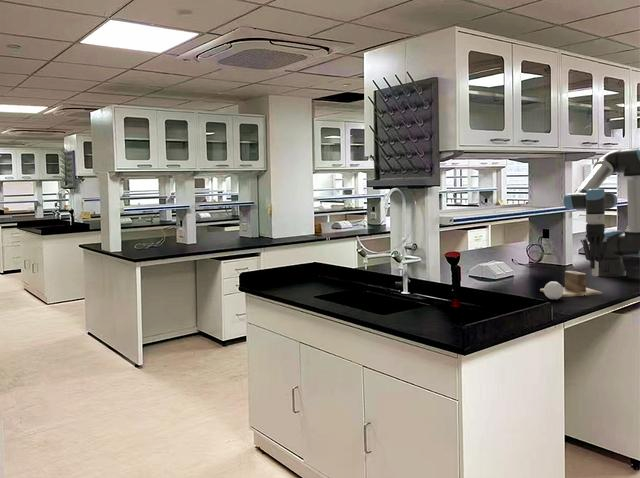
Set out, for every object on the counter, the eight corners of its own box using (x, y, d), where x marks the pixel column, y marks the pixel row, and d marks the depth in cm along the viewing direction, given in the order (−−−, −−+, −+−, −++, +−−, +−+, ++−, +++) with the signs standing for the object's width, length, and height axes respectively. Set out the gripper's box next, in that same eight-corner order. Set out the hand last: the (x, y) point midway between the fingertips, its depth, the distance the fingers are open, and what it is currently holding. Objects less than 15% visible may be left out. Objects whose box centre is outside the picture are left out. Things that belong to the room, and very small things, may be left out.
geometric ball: (549, 305, 241) (537, 291, 242) (555, 296, 247) (544, 282, 247) (563, 299, 236) (551, 284, 236) (570, 289, 241) (557, 275, 241)
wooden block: (573, 287, 260) (573, 270, 259) (585, 291, 250) (585, 273, 249) (564, 288, 259) (564, 271, 258) (577, 292, 249) (577, 274, 249)
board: (580, 288, 263) (580, 286, 263) (601, 294, 248) (601, 292, 247) (540, 290, 261) (539, 288, 261) (558, 297, 245) (558, 294, 245)
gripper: (586, 224, 249) (586, 277, 251) (614, 223, 250) (613, 276, 252) (576, 223, 256) (576, 275, 258) (603, 222, 258) (603, 273, 260)
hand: (595, 275), depth 255 cm, fingers closed
